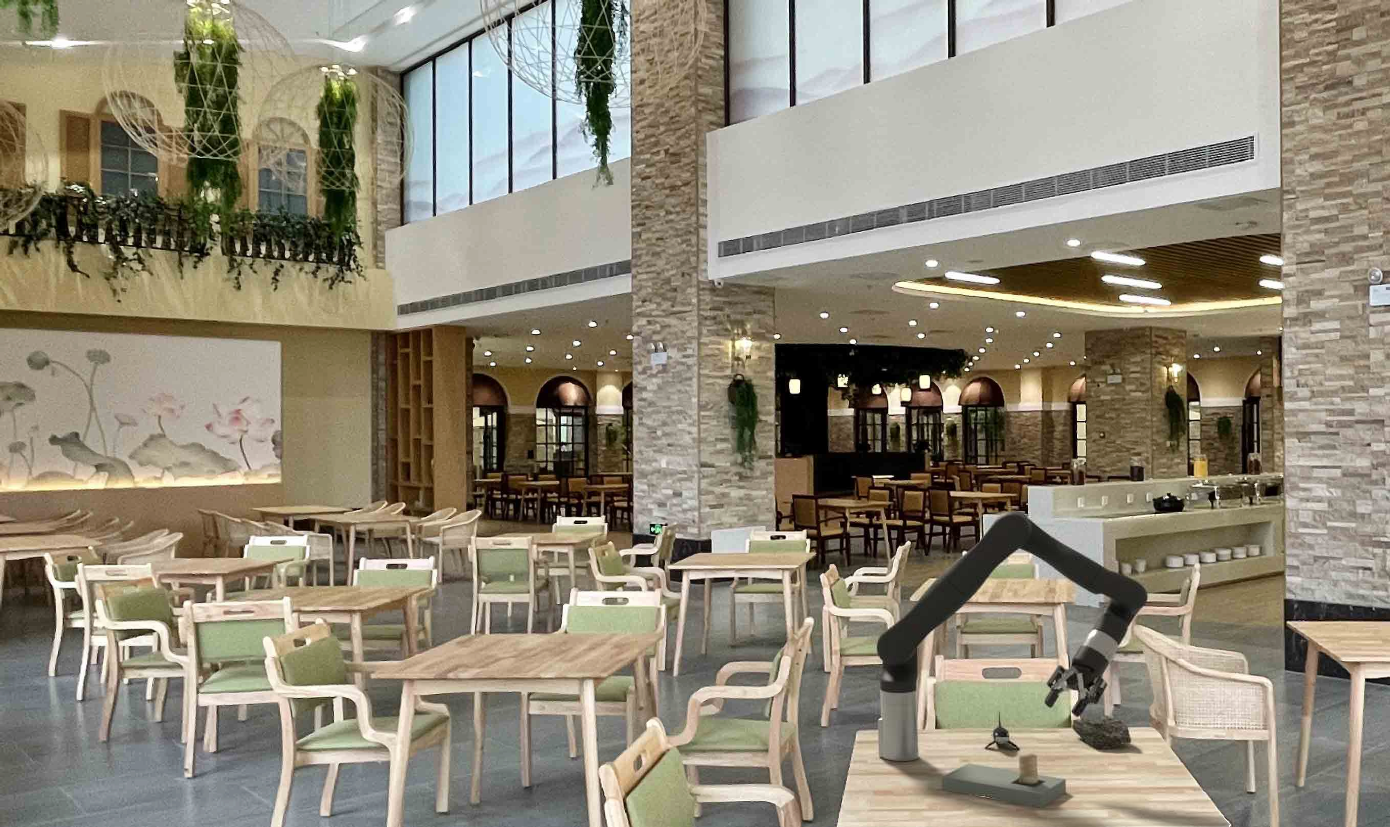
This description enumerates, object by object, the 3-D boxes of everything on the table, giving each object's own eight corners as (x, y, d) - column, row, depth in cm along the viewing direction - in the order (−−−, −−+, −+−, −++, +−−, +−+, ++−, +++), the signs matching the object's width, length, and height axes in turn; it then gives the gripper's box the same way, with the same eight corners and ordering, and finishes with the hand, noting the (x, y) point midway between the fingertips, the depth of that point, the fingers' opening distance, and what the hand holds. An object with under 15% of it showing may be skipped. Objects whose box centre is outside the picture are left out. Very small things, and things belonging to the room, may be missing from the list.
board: (942, 789, 276) (941, 776, 276) (968, 775, 287) (968, 763, 287) (1041, 807, 261) (1041, 794, 261) (1065, 792, 272) (1065, 779, 272)
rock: (1069, 714, 323) (1070, 737, 322) (1093, 728, 307) (1093, 752, 307) (1112, 712, 323) (1112, 735, 323) (1137, 726, 308) (1138, 750, 308)
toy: (1023, 750, 305) (1021, 710, 307) (984, 749, 307) (982, 709, 309) (1016, 749, 325) (1014, 712, 328) (979, 749, 327) (977, 711, 329)
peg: (1016, 796, 270) (1014, 756, 270) (1023, 791, 273) (1022, 752, 273) (1034, 799, 267) (1033, 758, 267) (1041, 794, 270) (1040, 754, 271)
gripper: (1064, 638, 287) (1030, 693, 282) (1110, 650, 274) (1075, 708, 269) (1081, 656, 289) (1047, 711, 285) (1127, 669, 277) (1092, 727, 272)
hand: (1060, 710), depth 277 cm, fingers open, 8 cm apart
